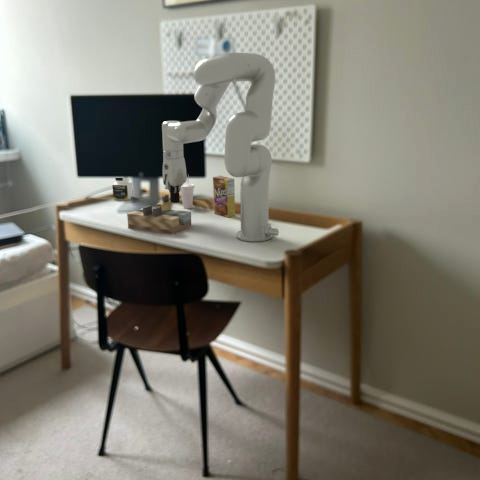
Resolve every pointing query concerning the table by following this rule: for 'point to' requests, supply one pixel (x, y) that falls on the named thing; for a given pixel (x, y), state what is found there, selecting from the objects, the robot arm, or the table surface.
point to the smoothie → (187, 194)
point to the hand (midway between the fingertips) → (175, 202)
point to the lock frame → (159, 220)
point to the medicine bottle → (122, 189)
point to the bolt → (164, 203)
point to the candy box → (224, 196)
